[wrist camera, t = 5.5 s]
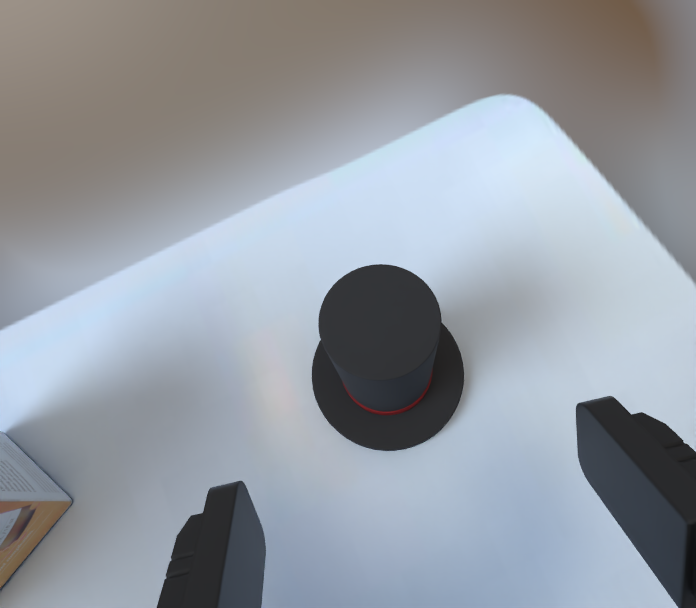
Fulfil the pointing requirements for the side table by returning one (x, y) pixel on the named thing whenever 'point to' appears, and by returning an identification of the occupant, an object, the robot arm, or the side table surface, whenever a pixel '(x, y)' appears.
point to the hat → (385, 360)
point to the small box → (24, 506)
